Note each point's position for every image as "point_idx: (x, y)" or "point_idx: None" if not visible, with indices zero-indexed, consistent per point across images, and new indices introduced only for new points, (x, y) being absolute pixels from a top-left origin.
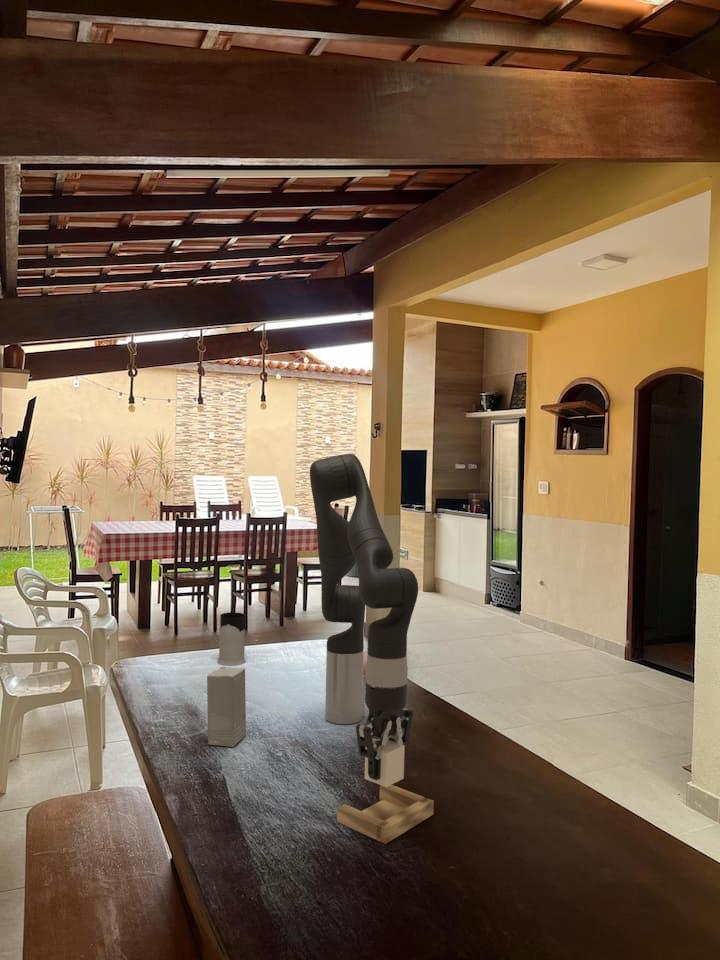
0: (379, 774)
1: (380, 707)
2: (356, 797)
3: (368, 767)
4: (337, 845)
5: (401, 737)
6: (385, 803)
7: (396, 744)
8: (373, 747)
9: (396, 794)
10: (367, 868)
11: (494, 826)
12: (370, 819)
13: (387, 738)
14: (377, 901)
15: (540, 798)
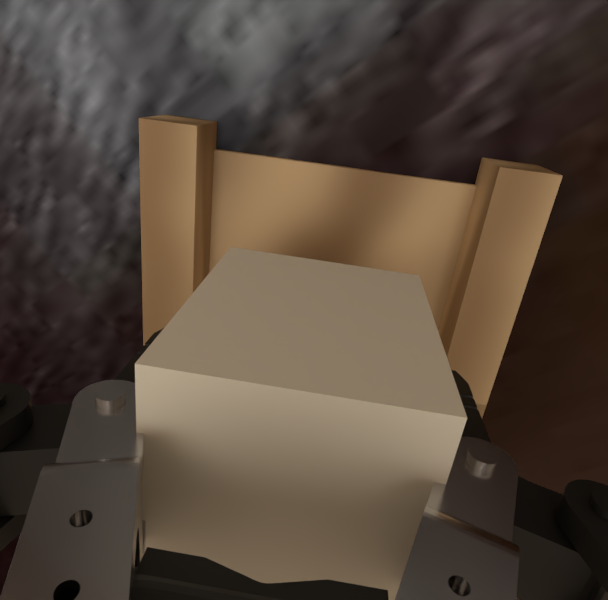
0: None
1: None
2: (440, 37)
3: (136, 358)
4: (37, 228)
5: (539, 596)
6: (437, 217)
7: (371, 581)
8: (156, 450)
9: (466, 277)
10: (18, 377)
11: None
12: (161, 308)
13: (428, 500)
14: None
15: None
